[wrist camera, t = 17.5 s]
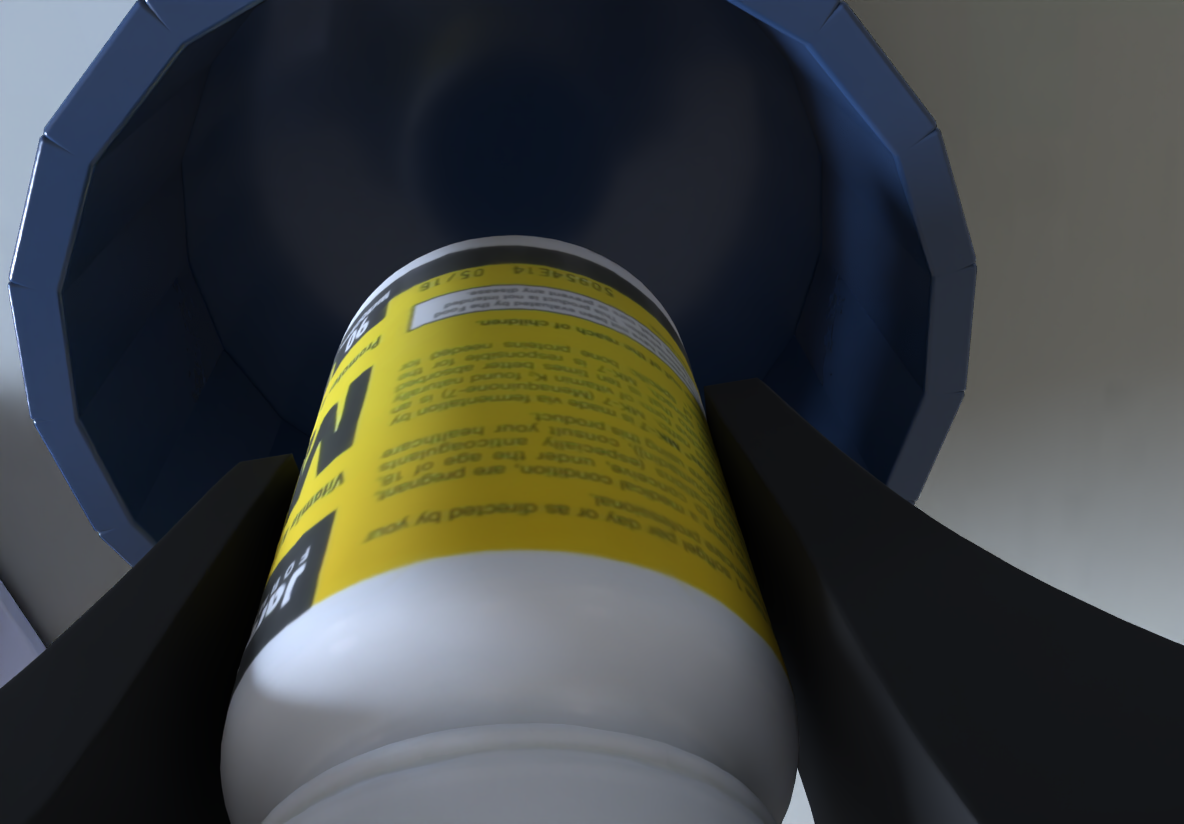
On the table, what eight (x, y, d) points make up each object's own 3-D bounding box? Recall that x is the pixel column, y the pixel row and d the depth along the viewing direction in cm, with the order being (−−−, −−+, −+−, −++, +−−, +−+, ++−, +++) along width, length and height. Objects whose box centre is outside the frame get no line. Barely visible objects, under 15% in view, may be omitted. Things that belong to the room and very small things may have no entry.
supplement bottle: (326, 210, 11) (20, 903, 4) (714, 237, 12) (1027, 889, 5) (342, 523, 14) (168, 1282, 7) (659, 533, 14) (808, 1243, 7)
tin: (287, 551, 20) (225, 764, 16) (19, -73, 14) (-221, -12, 9) (845, 460, 20) (944, 650, 16) (850, -215, 14) (1025, -226, 9)
